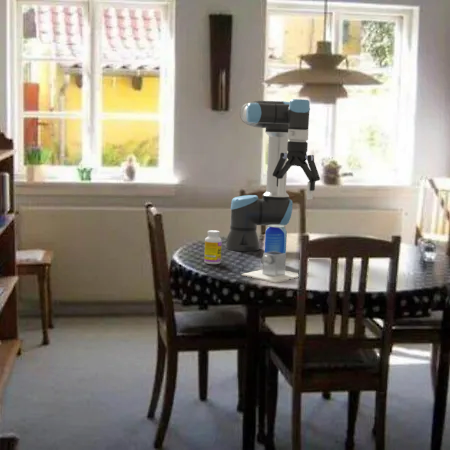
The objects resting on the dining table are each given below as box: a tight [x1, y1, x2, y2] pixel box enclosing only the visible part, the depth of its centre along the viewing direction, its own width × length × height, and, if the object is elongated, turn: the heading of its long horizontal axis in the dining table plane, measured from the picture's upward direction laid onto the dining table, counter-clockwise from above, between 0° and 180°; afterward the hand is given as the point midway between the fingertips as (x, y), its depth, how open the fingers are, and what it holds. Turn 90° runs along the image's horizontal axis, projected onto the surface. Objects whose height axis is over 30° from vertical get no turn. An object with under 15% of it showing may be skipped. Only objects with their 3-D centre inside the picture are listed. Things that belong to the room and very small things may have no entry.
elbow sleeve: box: [260, 251, 287, 277], centre depth 294 cm, size 9×6×8 cm
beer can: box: [264, 224, 288, 254], centre depth 314 cm, size 8×8×16 cm
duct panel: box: [241, 269, 299, 284], centre depth 295 cm, size 18×16×6 cm
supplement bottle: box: [203, 229, 223, 265], centre depth 314 cm, size 7×7×13 cm
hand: (294, 197), depth 299 cm, fingers open, 13 cm apart
